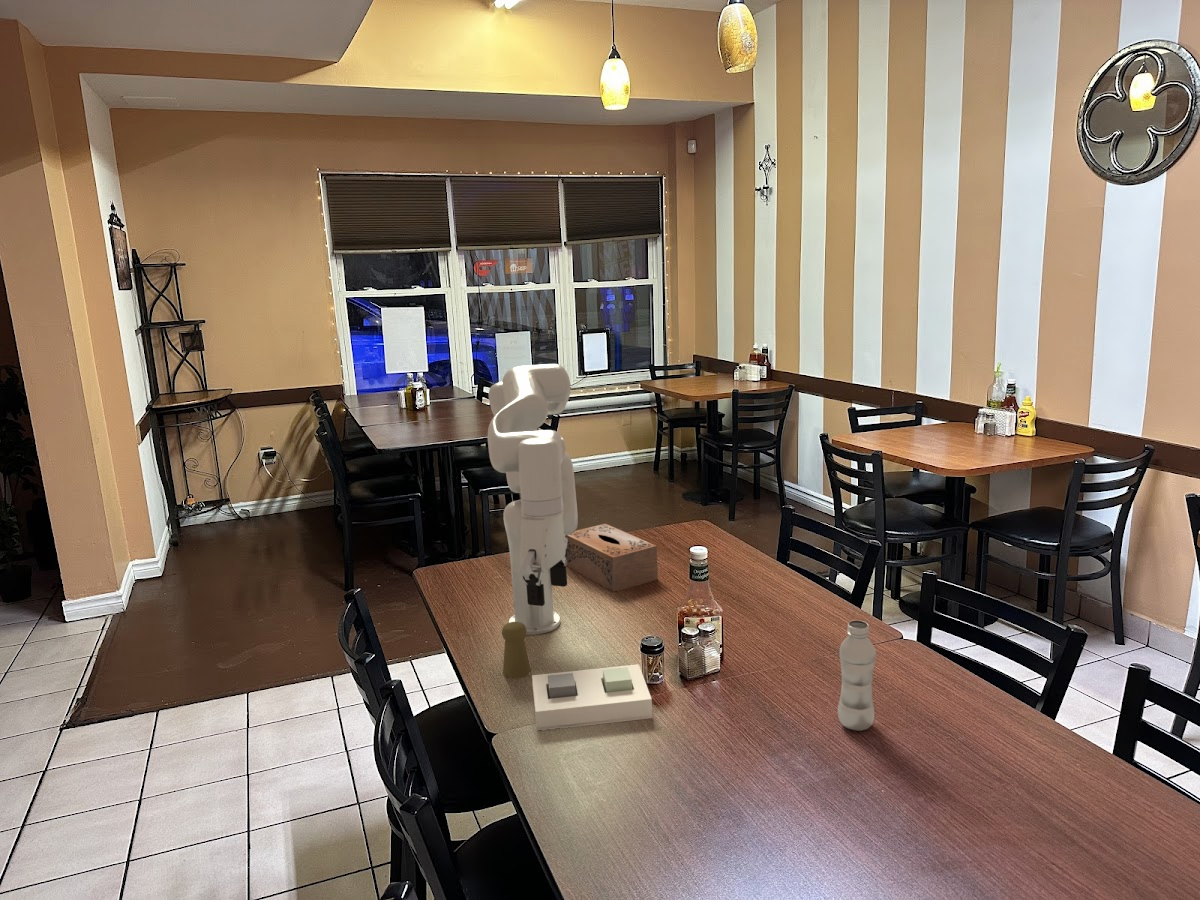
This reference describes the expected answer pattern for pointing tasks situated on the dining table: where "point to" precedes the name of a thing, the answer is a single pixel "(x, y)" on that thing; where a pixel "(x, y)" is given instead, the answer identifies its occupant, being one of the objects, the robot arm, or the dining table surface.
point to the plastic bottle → (857, 678)
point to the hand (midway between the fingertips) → (548, 594)
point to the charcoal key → (561, 685)
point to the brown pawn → (515, 651)
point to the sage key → (617, 680)
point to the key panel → (591, 700)
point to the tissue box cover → (612, 557)
